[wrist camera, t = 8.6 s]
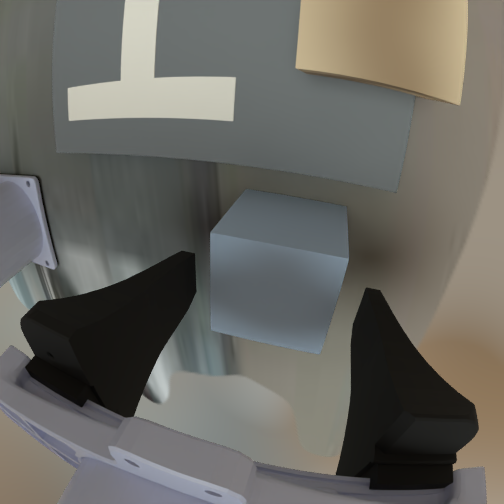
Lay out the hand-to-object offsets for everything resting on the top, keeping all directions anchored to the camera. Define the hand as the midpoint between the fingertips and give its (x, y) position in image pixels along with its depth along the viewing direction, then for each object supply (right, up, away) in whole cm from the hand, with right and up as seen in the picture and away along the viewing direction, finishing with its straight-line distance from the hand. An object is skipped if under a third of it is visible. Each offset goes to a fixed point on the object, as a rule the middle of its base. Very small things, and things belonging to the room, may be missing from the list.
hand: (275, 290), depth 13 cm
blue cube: (+1, +2, +4) cm, 4 cm away
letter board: (-3, +12, -1) cm, 13 cm away
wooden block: (+4, +10, -3) cm, 12 cm away
